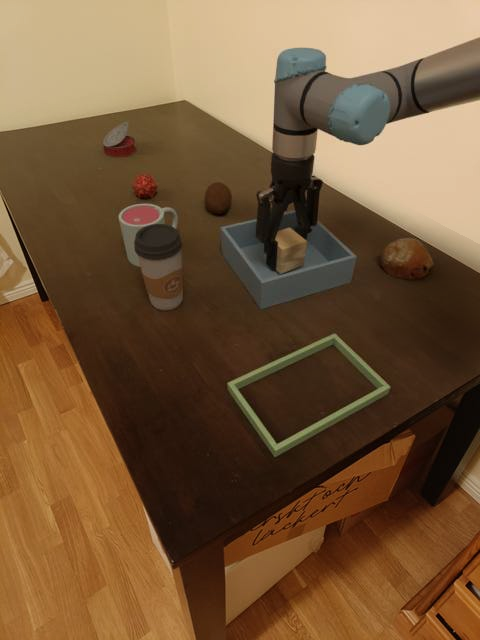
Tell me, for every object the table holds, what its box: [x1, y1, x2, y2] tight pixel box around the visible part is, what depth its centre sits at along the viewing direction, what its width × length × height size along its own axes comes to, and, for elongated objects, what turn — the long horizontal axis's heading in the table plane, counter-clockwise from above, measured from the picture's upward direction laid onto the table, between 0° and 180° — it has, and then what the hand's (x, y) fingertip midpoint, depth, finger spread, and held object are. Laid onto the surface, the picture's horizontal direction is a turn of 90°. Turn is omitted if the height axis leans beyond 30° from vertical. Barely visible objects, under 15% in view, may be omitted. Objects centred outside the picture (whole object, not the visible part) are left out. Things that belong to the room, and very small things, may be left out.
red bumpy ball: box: [131, 174, 159, 199], centre depth 113 cm, size 6×7×8 cm
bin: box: [219, 209, 358, 310], centre depth 90 cm, size 21×21×6 cm
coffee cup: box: [134, 223, 184, 312], centre depth 79 cm, size 8×8×15 cm
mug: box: [118, 203, 179, 268], centre depth 93 cm, size 14×9×10 cm
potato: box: [204, 181, 233, 215], centre depth 107 cm, size 7×10×7 cm
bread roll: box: [379, 237, 435, 281], centre depth 90 cm, size 10×10×8 cm
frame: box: [227, 332, 392, 458], centre depth 67 cm, size 22×14×2 cm, turn 120°
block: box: [265, 227, 307, 274], centre depth 89 cm, size 6×6×6 cm
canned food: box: [102, 121, 137, 158], centre depth 134 cm, size 11×10×10 cm
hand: (284, 261), depth 91 cm, fingers closed on block, 6 cm apart
